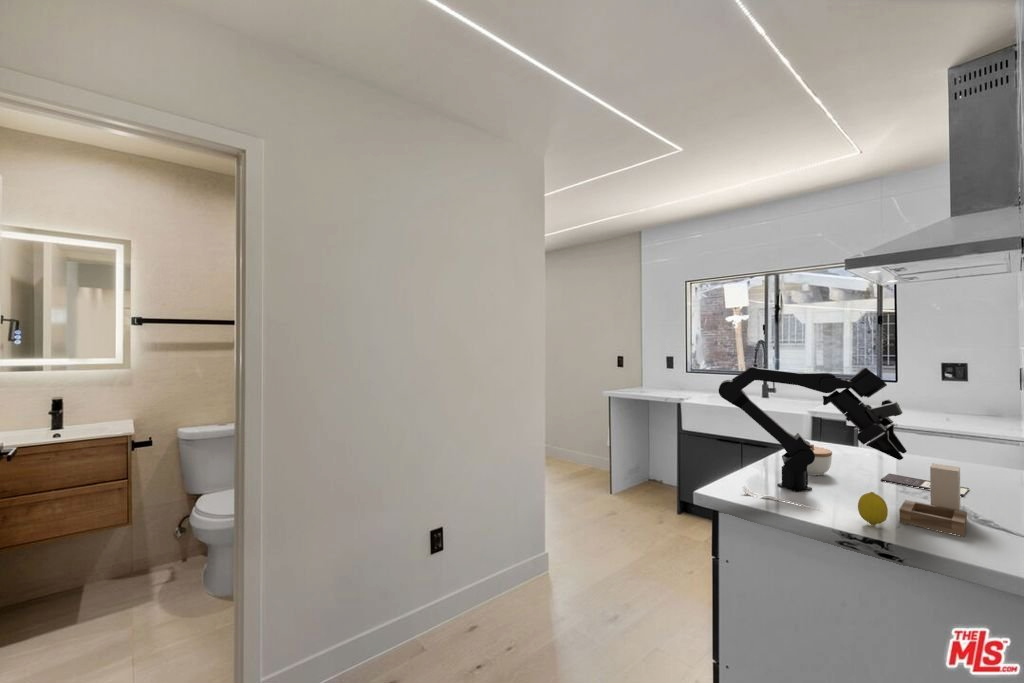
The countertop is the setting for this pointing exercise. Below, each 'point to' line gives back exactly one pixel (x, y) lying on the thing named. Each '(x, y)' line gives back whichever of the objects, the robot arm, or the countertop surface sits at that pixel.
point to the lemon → (872, 508)
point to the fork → (771, 497)
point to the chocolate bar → (914, 482)
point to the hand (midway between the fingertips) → (903, 455)
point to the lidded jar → (820, 461)
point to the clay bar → (945, 486)
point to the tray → (933, 517)
